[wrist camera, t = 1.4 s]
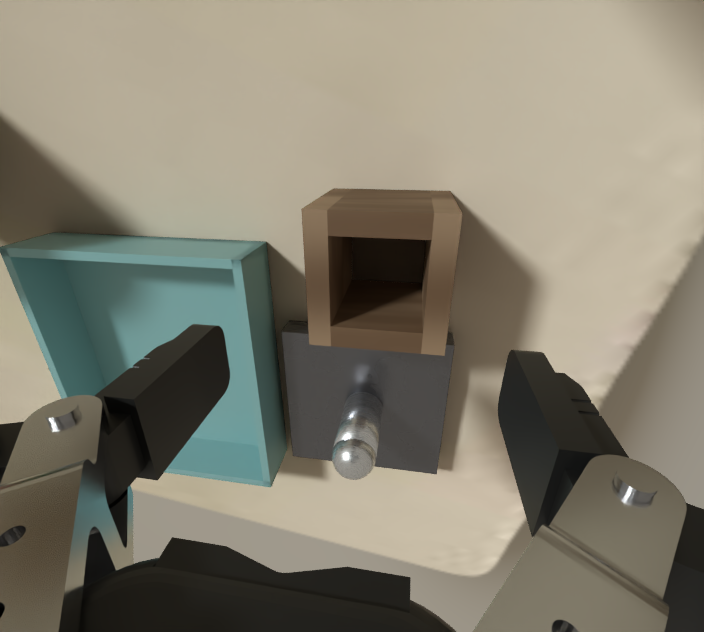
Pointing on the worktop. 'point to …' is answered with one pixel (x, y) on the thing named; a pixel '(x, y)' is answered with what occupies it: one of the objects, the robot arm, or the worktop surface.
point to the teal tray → (161, 330)
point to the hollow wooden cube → (380, 296)
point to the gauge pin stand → (365, 404)
